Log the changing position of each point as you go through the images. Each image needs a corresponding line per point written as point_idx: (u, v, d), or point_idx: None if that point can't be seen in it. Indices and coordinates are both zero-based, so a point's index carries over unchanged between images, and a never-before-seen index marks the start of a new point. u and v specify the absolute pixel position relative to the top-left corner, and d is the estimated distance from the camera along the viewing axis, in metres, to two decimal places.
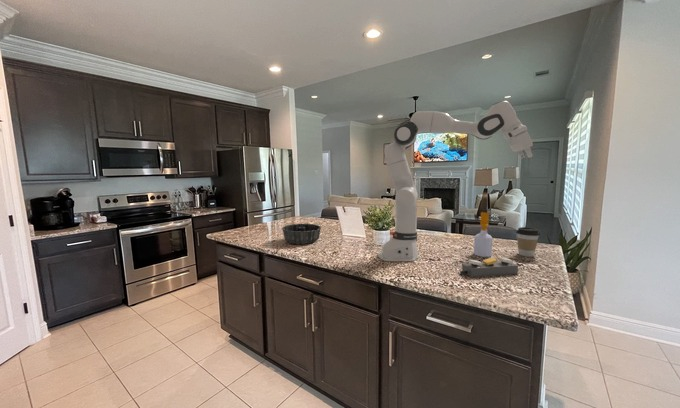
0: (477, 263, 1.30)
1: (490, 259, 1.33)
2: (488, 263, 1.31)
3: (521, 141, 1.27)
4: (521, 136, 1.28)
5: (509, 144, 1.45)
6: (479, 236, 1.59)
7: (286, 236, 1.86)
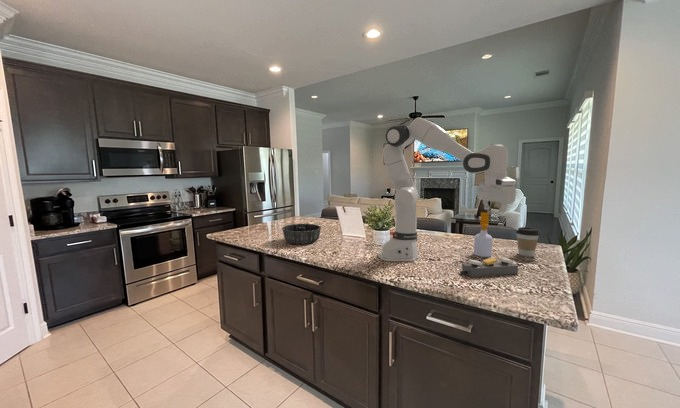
0: (477, 263, 1.30)
1: (490, 259, 1.33)
2: (488, 263, 1.31)
3: (508, 194, 1.19)
4: (510, 188, 1.20)
5: (478, 189, 1.37)
6: (479, 236, 1.59)
7: (286, 236, 1.86)
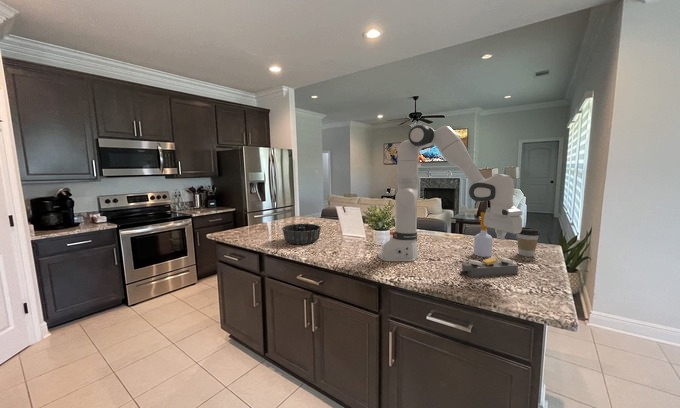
0: (477, 263, 1.30)
1: (490, 259, 1.33)
2: (488, 263, 1.31)
3: (514, 224, 1.21)
4: (516, 219, 1.21)
5: (485, 217, 1.39)
6: (479, 236, 1.59)
7: (286, 236, 1.86)
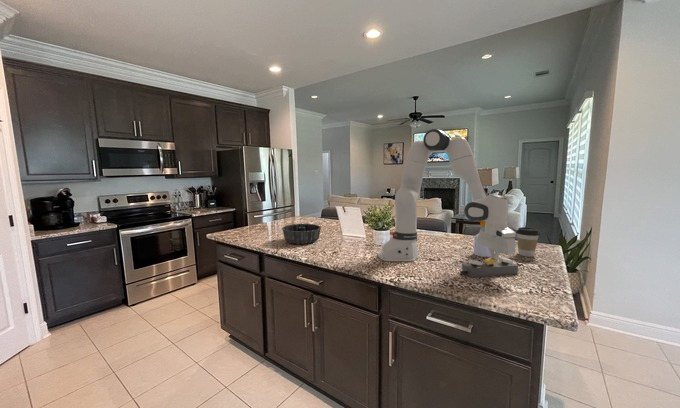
0: (477, 263, 1.30)
1: (490, 259, 1.33)
2: (488, 263, 1.31)
3: (508, 246, 1.22)
4: (510, 241, 1.23)
5: (479, 235, 1.40)
6: None
7: (286, 236, 1.86)
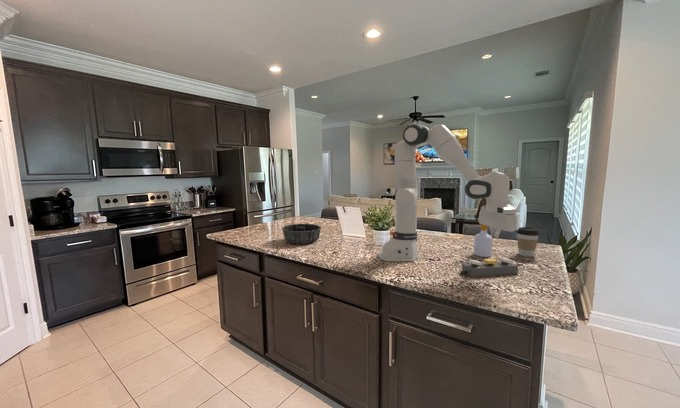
0: (477, 263, 1.30)
1: (491, 259, 1.33)
2: (488, 262, 1.31)
3: (509, 222, 1.21)
4: (511, 217, 1.22)
5: (480, 214, 1.39)
6: (479, 236, 1.59)
7: (286, 236, 1.86)
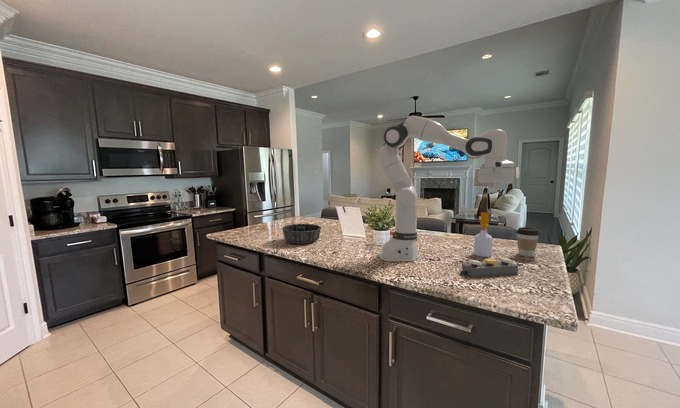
0: (477, 263, 1.30)
1: (491, 259, 1.33)
2: (489, 262, 1.31)
3: (506, 175, 1.27)
4: (508, 170, 1.28)
5: (479, 173, 1.45)
6: (479, 236, 1.59)
7: (286, 236, 1.86)
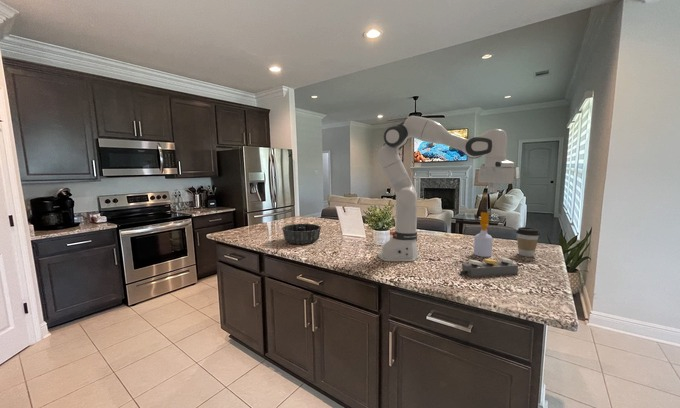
0: (477, 263, 1.30)
1: (491, 259, 1.33)
2: (489, 262, 1.31)
3: (506, 175, 1.27)
4: (508, 170, 1.28)
5: (479, 173, 1.45)
6: (479, 236, 1.59)
7: (286, 236, 1.86)
